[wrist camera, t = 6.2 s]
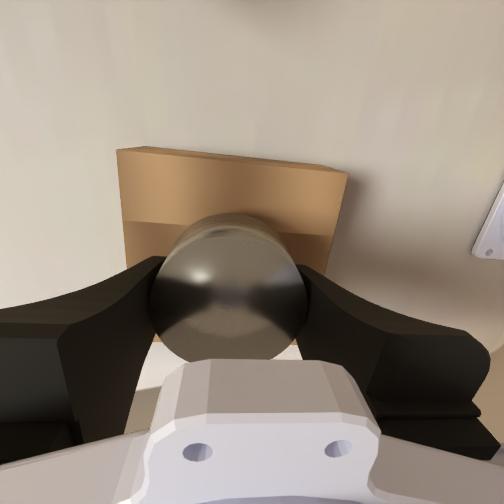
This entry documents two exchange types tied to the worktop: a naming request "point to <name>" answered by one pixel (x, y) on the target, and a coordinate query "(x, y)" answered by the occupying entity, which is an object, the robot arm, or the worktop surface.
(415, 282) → the worktop surface
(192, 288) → the grey rounded piece
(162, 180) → the block
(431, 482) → the robot arm
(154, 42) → the worktop surface
